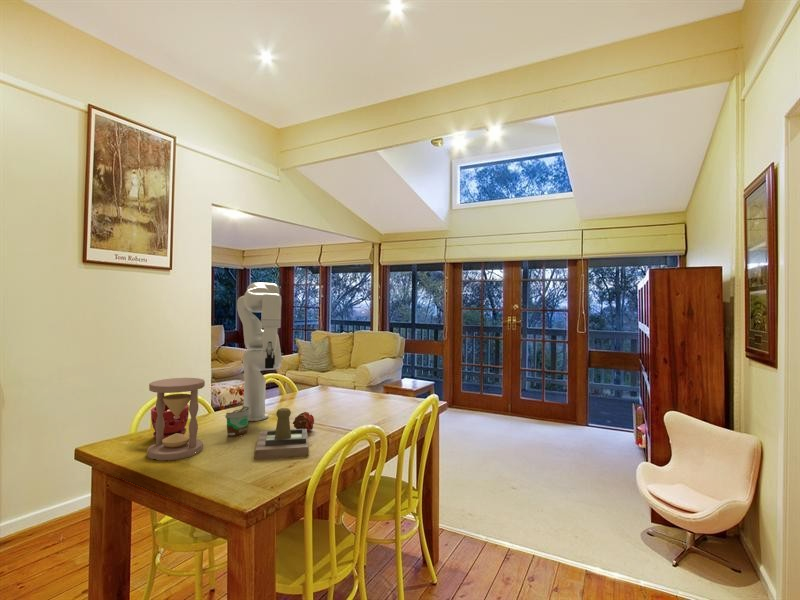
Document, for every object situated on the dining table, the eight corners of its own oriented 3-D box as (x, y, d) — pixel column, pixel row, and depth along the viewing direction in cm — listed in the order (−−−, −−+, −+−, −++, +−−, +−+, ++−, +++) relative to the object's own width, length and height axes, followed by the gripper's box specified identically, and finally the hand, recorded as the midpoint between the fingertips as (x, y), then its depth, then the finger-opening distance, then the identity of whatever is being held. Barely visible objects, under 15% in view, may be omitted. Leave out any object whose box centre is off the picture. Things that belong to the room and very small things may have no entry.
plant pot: (148, 435, 166) (149, 405, 166) (184, 429, 174) (185, 401, 174) (152, 444, 155) (153, 412, 156) (191, 437, 163) (191, 407, 163)
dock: (260, 438, 164) (260, 427, 164) (306, 436, 168) (306, 425, 168) (255, 459, 142) (255, 445, 142) (308, 455, 147) (308, 442, 147)
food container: (239, 439, 163) (239, 413, 163) (225, 438, 164) (225, 412, 164) (256, 430, 175) (256, 406, 175) (242, 429, 176) (243, 405, 176)
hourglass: (213, 447, 153) (215, 379, 153) (173, 464, 137) (175, 388, 137) (177, 441, 159) (179, 376, 159) (135, 456, 143) (137, 383, 143)
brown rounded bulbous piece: (277, 441, 151) (278, 411, 151) (272, 437, 156) (273, 407, 156) (293, 438, 155) (294, 409, 155) (287, 434, 160) (288, 405, 160)
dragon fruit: (302, 439, 169) (301, 435, 180) (320, 425, 172) (317, 422, 183) (290, 422, 168) (289, 419, 180) (307, 409, 171) (305, 406, 182)
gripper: (262, 323, 174) (261, 363, 174) (259, 325, 158) (258, 370, 157) (281, 323, 176) (280, 363, 176) (279, 325, 159) (278, 369, 159)
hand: (269, 366), depth 167 cm, fingers open, 9 cm apart
